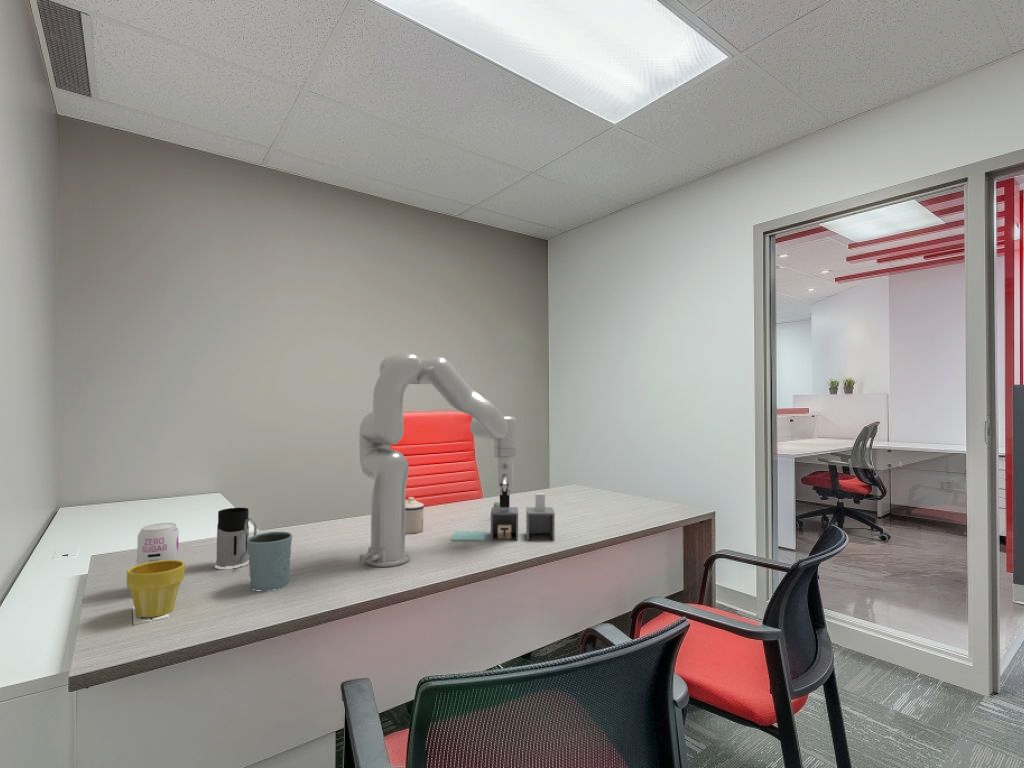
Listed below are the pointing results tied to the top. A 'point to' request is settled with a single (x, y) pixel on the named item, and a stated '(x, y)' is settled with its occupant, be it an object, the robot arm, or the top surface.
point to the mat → (468, 536)
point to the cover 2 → (540, 517)
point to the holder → (233, 536)
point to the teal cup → (269, 560)
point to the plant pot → (155, 586)
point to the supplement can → (157, 543)
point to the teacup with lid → (413, 516)
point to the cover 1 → (504, 518)
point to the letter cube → (504, 529)
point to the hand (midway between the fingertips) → (504, 504)
